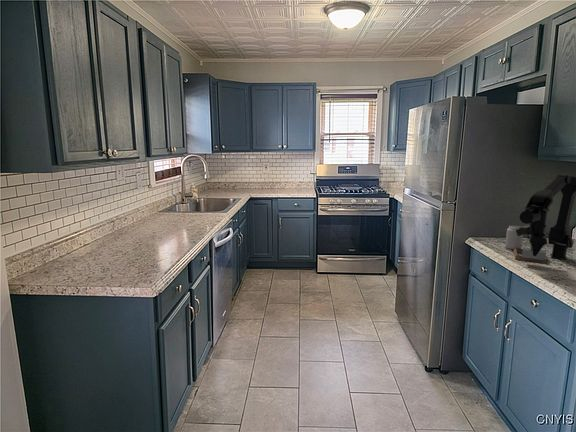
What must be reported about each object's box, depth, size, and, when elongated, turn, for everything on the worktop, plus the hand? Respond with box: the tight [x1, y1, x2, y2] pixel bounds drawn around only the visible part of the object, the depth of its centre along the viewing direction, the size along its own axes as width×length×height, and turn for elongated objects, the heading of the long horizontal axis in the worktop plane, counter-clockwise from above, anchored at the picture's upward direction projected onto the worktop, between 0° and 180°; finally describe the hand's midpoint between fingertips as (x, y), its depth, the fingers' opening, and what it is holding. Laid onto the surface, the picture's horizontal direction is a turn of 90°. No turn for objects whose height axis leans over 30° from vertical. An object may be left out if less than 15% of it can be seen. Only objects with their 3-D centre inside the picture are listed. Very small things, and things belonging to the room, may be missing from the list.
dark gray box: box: [521, 246, 547, 260], centre depth 171 cm, size 5×9×4 cm, turn 56°
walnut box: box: [513, 248, 548, 264], centre depth 182 cm, size 15×13×2 cm
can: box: [504, 225, 524, 251], centre depth 196 cm, size 8×8×12 cm
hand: (533, 254), depth 171 cm, fingers closed on dark gray box, 5 cm apart
